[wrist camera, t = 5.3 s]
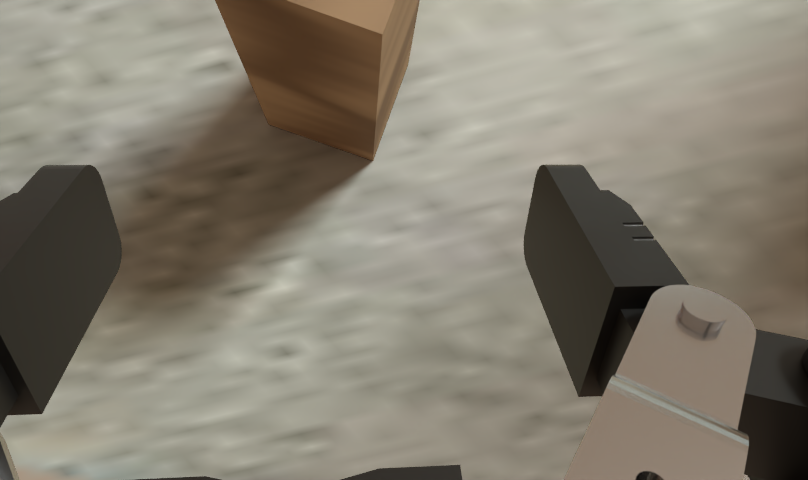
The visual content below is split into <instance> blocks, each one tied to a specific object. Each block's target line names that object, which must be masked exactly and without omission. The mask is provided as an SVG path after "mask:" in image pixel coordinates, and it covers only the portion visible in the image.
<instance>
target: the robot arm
mask: <svg viewBox="0 0 808 480" xmlns="http://www.w3.org/2000/svg"><path fill="white" fill-rule="evenodd" d="M653 237H654V236H653V235H652V234H651V232H650V231H649V230H648V228H647V227H646V226H643V221H642V220H641V219H640V217H639V216H638V215H637V213H636V212H635V211H634V209H633V208H632V206H631V205H630V204H628V203H627V202H625V201H624V200H622V199H621V198H619V197H618V196H616V195H615V194H613V193H612V192H610V191H609V190H601V191H600V189H599V188H598V187H597V185H596V184H595V182H594V181H593V179H592V178H591V176H590V175H589V173H588V172H587V170H586V169H585V168H584V166H582V165H541V166H540V167H539V169H538V171H537V174H536V178H535V183H534V188H533V193H532V198H531V203H530V208H529V214H528V219H527V224H526V229H525V235H524V255H525V261H526V265H527V267H528V270H529V272H530V275H531V278H532V280H533V283H534V285H535V288H536V290H537V293H538V295H539V298H540V300H541V303H542V305H543V308H544V310H545V313H546V315H547V318H548V320H549V323H550V325H551V328H552V330H553V333H554V336H555V338H556V341H557V343H558V346H559V348H560V351H561V353H562V356H563V358H564V361H565V363H566V366H567V368H568V371H569V373H570V376H571V378H572V381H573V383H574V386H575V388H576V391H577V394H578V396H579V397H586V396H602V398H601V400H600V402H599V404H598V407H597V409H596V411H595V413H594V415H593V417H592V420H591V422H590V424H589V426H588V428H587V430H586V433H585V435H584V437H583V439H582V441H581V443H580V446H579V448H578V450H577V452H576V454H575V456H574V459H573V461H572V463H571V465H570V467H569V469H568V472H567V474H566V476H565V478H564V480H743V477H744V474H745V475H748V477H749V478H750V480H808V340H805V339H800V338H795V337H790V336H785V335H781V334H776V333H771V332H766V331H761V330H757V329H755V326H754V324H753V322H752V320H751V319H750V317H749V316H748V315H747V313H746V312H745V311H744V310H743V309H742V308H740V307H739V306H738V305H737V304H735V303H734V302H732V301H731V300H729V299H728V298H726V297H724V296H722V295H720V294H718V293H715V292H713V291H710V290H707V289H704V288H701V287H696V286H690V285H689V284H688V283H687V281H686V280H685V279H684V277H683V276H682V274H681V273H680V272H679V270H678V269H677V268H676V266H675V265H674V264H673V262H672V261H671V260H670V258H669V257H668V255H667V254H666V253H665V251H664V250H663V249H662V247H661V246H660V245H659V243H658V242H657V240H653ZM120 262H121V241H120V236H119V233H118V230H117V227H116V223H115V220H114V217H113V214H112V211H111V207H110V204H109V201H108V198H107V195H106V191H105V188H104V185H103V182H102V179H101V176H100V174H99V172H98V171H97V169H96V168H95V167H93V166H91V165H46V166H43V167H42V168H40V169H39V170H38V171H37V173H36V174H35V175H34V176H33V177H32V178H31V179H30V180H29V181H28V182H27V183H26V185H25V186H24V187H23V188H22V189H21V190H20V191H19V192H18V193H13V194H12V195H10V196H8V197H6V198H5V199H3V200H1V201H0V427H1V425H2V423H3V422H4V420H5V418H6V417H7V415H26V414H42V413H43V411H44V409H45V407H46V405H47V404H48V402H49V400H50V398H51V396H52V394H53V392H54V390H55V388H56V387H57V385H58V383H59V381H60V379H61V377H62V375H63V373H64V372H65V370H66V368H67V366H68V364H69V362H70V360H71V358H72V356H73V355H74V353H75V351H76V349H77V347H78V345H79V343H80V341H81V340H82V338H83V336H84V334H85V332H86V330H87V328H88V326H89V325H90V323H91V321H92V319H93V317H94V315H95V313H96V311H97V309H98V308H99V306H100V304H101V302H102V300H103V298H104V296H105V294H106V293H107V291H108V289H109V287H110V285H111V283H112V281H113V279H114V277H115V276H116V274H117V272H118V269H119V266H120ZM0 480H20V479H19V477H18V474H17V471H16V468H15V466H14V463H13V460H12V458H11V455H10V452H9V449H8V447H7V444H6V441H5V440H4V438H3V436H2V435H1V433H0ZM137 480H220V479H215V478H210V477H206V476H204V477H182V478H159V479H137ZM342 480H462V475H461V469H460V465H449V466H427V467H405V468H382V469H376V470H373V471H369V472H366V473H362V474H359V475H355V476H352V477H348V478H345V479H342Z"/></svg>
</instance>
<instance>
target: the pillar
mask: <svg viewBox="0 0 808 480" xmlns="http://www.w3.org/2000/svg"><path fill="white" fill-rule="evenodd" d="M215 1H216V4H217V6H218V8H219V10H220V13H221V15H222V17H223V20H224V22H225V24H226V27H227V29H228V31H229V34H230V36H231V38H232V41H233V43H234V45H235V48H236V50H237V52H238V54H239V57H240V59H241V61H242V64H243V66H244V68H245V71H246V73H247V75H248V78H249V80H250V82H251V85H252V87H253V89H254V91H255V94H256V96H257V98H258V101H259V103H260V105H261V108H262V110H263V112H264V115H265V117H266V119H267V122H268V124H269V125H272V126H275V127H278V128H280V129H283V130H286V131H289V132H292V133H295V134H298V135H300V136H303V137H306V138H309V139H312V140H315V141H318V142H320V143H323V144H326V145H329V146H332V147H335V148H338V149H340V150H343V151H346V152H349V153H352V154H355V155H358V156H360V157H363V158H366V159H369V160H372V161H373V159H374V157H375V154H376V151H377V148H378V146H379V143H380V140H381V137H382V135H383V132H384V129H385V126H386V124H387V121H388V118H389V115H390V113H391V110H392V107H393V105H394V102H395V99H396V96H397V94H398V91H399V88H400V85H401V83H402V80H403V77H404V74H405V72H406V69H407V66H408V62H409V56H410V51H411V45H412V39H413V34H414V28H415V23H416V17H417V11H418V6H419V0H215Z"/></svg>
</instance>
